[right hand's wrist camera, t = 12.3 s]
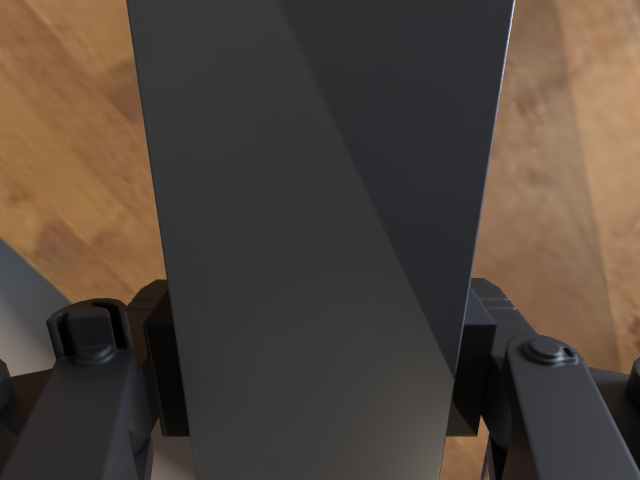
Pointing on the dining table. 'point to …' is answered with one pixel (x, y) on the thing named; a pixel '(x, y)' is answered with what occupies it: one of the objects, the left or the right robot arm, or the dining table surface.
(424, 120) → the bar
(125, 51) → the dining table surface
